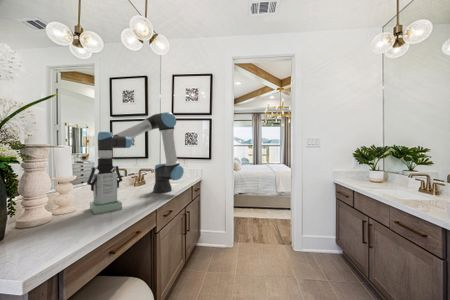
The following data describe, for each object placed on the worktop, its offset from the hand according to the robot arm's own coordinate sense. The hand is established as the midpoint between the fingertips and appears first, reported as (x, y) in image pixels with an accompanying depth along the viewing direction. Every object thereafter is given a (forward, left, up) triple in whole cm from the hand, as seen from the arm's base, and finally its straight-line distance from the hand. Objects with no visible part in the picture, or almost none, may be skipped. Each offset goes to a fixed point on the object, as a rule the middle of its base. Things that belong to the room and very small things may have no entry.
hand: (105, 194), depth 119 cm
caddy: (0, 0, -8) cm, 8 cm away
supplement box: (0, 0, -4) cm, 4 cm away
